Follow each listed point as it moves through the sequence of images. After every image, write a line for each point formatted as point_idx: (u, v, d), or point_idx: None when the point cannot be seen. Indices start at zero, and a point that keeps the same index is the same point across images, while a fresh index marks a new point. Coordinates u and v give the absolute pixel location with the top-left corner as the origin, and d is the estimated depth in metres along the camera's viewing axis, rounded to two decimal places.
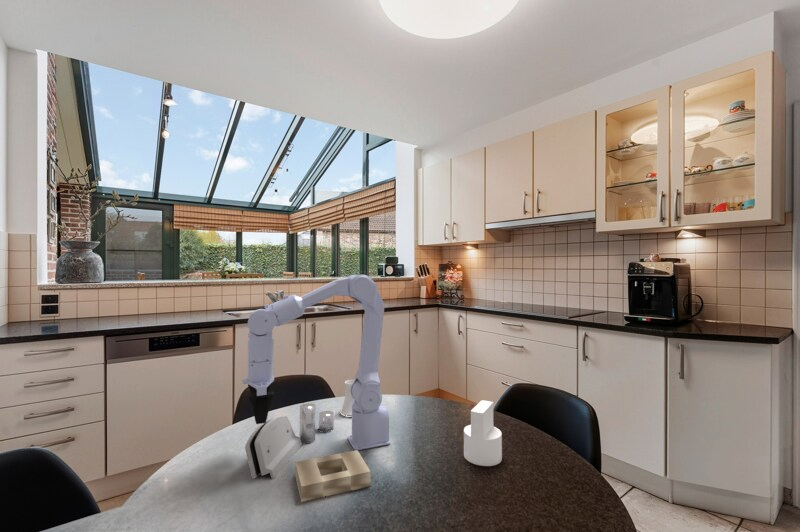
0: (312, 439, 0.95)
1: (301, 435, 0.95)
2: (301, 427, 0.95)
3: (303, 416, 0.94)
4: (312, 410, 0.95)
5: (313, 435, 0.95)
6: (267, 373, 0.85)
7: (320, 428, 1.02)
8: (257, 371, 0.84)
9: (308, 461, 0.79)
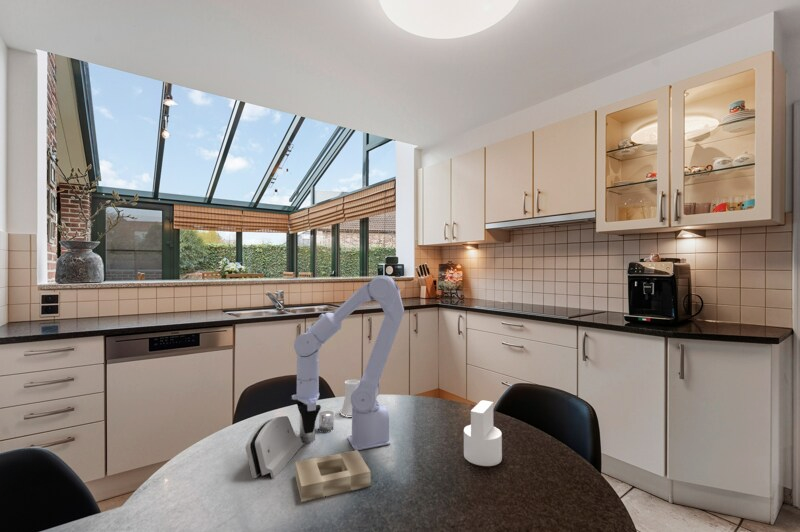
0: (312, 439, 0.95)
1: (301, 435, 0.95)
2: (301, 427, 0.95)
3: None
4: None
5: (313, 434, 0.95)
6: (314, 390, 0.95)
7: (320, 428, 1.02)
8: (306, 388, 0.94)
9: (308, 461, 0.79)
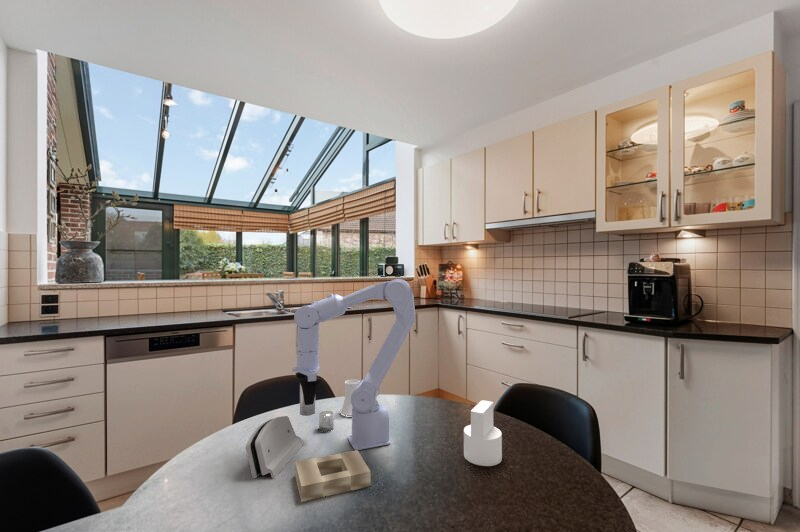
0: (312, 411, 0.95)
1: (301, 407, 0.95)
2: (301, 399, 0.95)
3: None
4: None
5: (313, 407, 0.95)
6: (314, 362, 0.95)
7: (320, 428, 1.02)
8: (306, 360, 0.94)
9: (308, 461, 0.79)
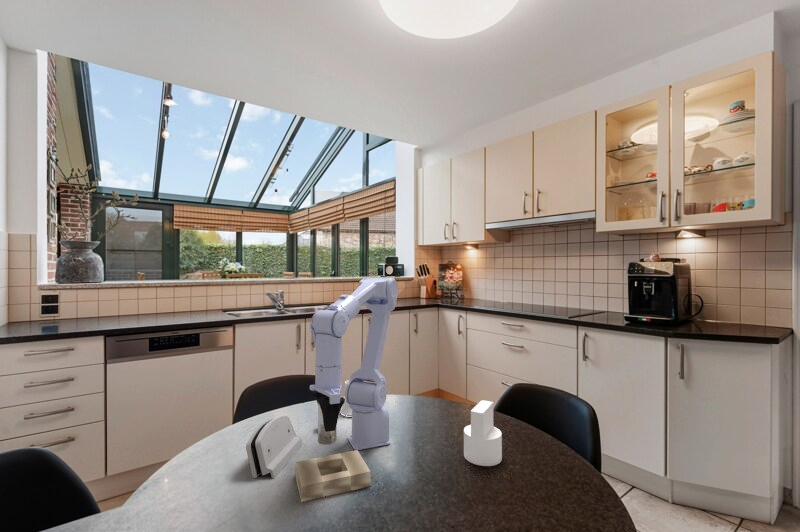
0: (333, 439, 0.78)
1: (320, 434, 0.78)
2: (320, 424, 0.78)
3: None
4: None
5: (334, 434, 0.79)
6: (336, 379, 0.78)
7: None
8: (327, 377, 0.77)
9: (308, 461, 0.79)
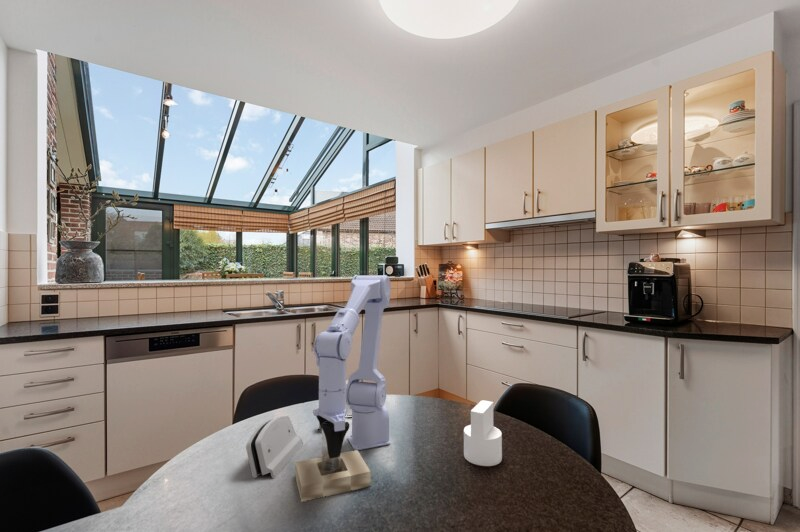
0: (337, 465, 0.76)
1: (324, 460, 0.76)
2: (324, 450, 0.76)
3: None
4: None
5: (338, 460, 0.76)
6: (341, 404, 0.76)
7: (320, 428, 1.02)
8: (331, 401, 0.75)
9: (308, 461, 0.79)
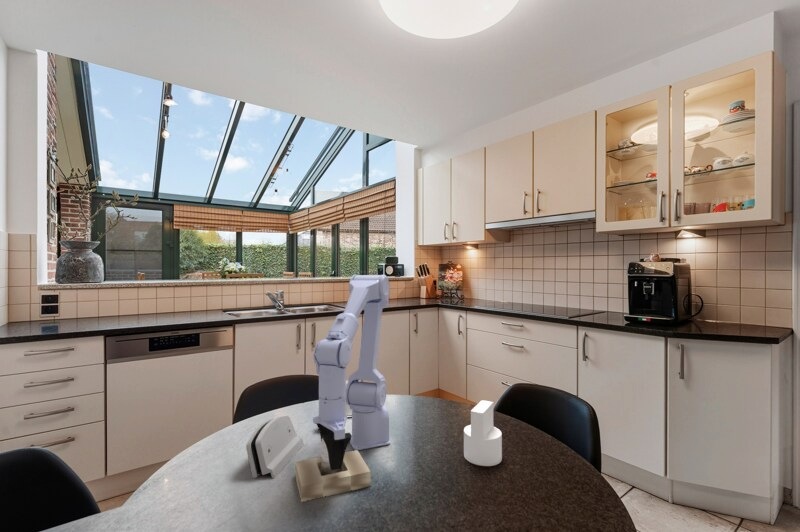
0: None
1: (323, 475, 0.76)
2: (323, 465, 0.76)
3: (326, 452, 0.75)
4: None
5: None
6: (341, 412, 0.76)
7: None
8: (331, 409, 0.75)
9: (308, 461, 0.79)
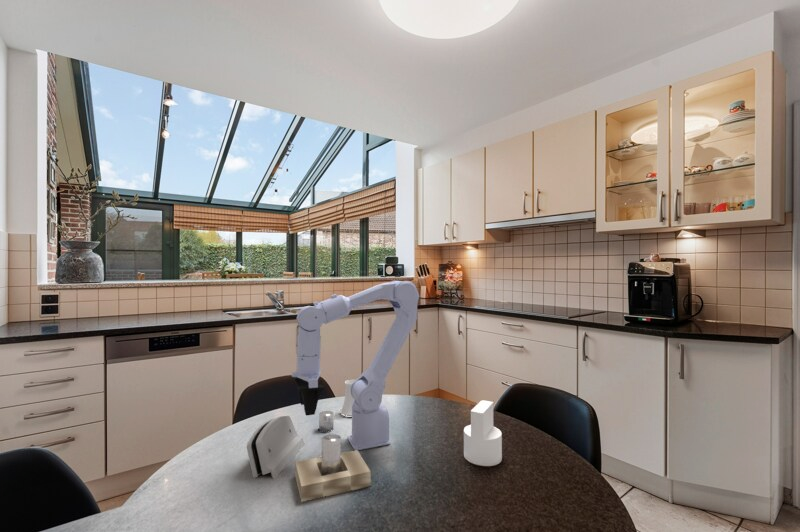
0: None
1: (323, 475, 0.76)
2: (323, 465, 0.76)
3: (326, 452, 0.75)
4: (337, 444, 0.76)
5: None
6: (315, 367, 0.89)
7: (320, 428, 1.02)
8: (307, 365, 0.88)
9: (308, 461, 0.79)
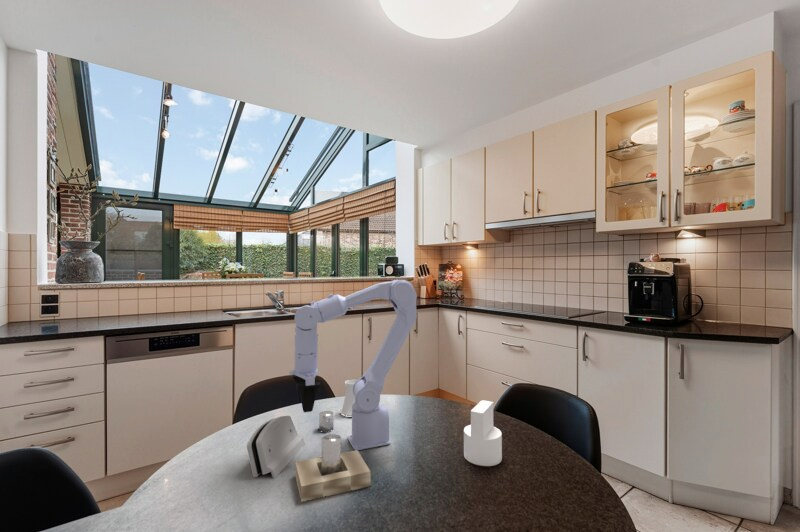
0: None
1: (323, 475, 0.76)
2: (323, 465, 0.76)
3: (326, 452, 0.75)
4: (337, 444, 0.76)
5: None
6: (312, 365, 0.91)
7: (320, 428, 1.02)
8: (304, 363, 0.90)
9: (308, 461, 0.79)
